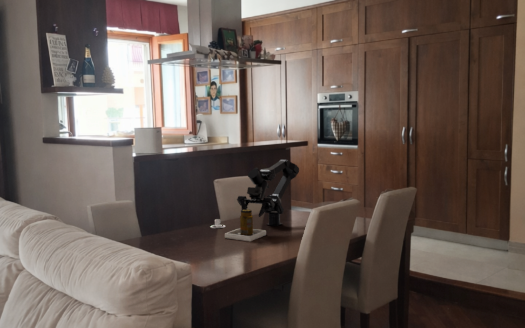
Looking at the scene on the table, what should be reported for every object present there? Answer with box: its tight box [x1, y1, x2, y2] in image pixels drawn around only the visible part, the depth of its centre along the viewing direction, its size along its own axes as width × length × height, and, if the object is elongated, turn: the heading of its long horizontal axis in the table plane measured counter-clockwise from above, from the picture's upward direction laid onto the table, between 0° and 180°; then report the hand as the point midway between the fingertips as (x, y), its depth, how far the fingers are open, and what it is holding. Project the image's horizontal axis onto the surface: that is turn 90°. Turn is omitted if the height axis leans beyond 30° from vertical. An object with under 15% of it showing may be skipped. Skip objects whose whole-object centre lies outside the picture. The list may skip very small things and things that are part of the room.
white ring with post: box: [209, 218, 226, 229], centre depth 269 cm, size 9×8×4 cm
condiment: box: [238, 208, 254, 236], centre depth 246 cm, size 7×8×12 cm
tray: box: [224, 227, 267, 242], centre depth 246 cm, size 14×14×2 cm
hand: (250, 216), depth 250 cm, fingers open, 9 cm apart
